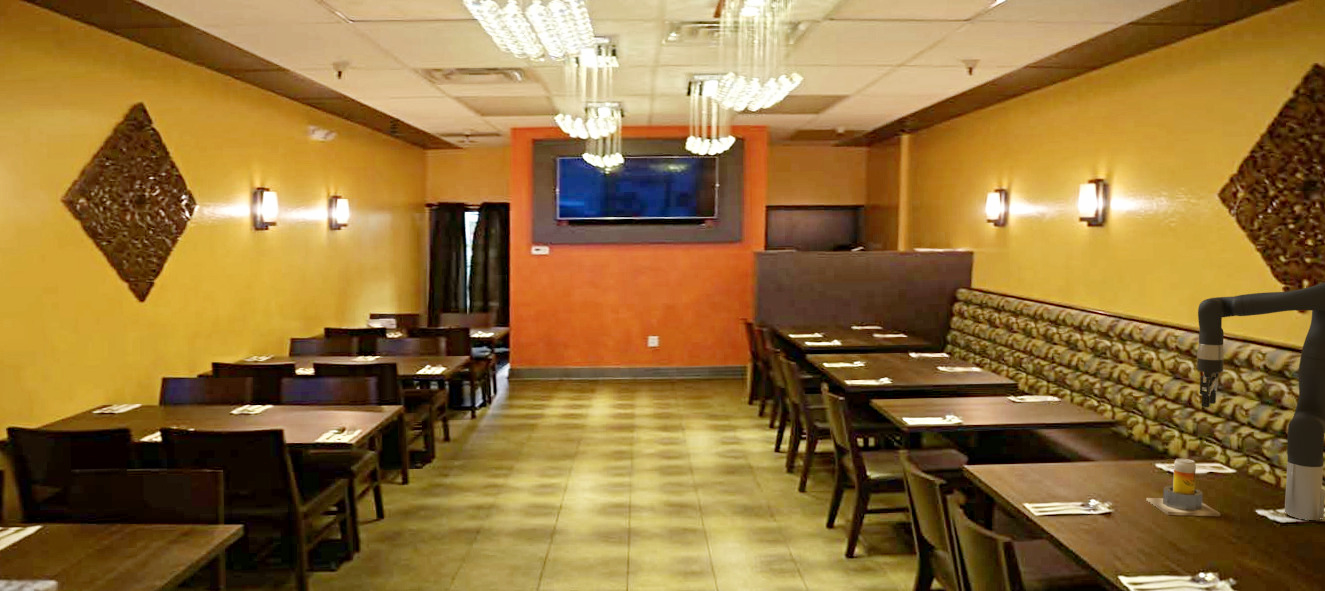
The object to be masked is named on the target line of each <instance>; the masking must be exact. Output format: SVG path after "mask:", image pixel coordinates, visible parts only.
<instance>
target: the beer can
mask: <svg viewBox="0 0 1325 591" xmlns="http://www.w3.org/2000/svg"><path fill="white" fill-rule="evenodd" d="M1196 468H1197V465H1196V462H1195V460H1193V459H1189V458H1182V457H1181V458H1176V459H1175V460H1174V464H1173V482H1172V486H1173V491H1174V492H1178V493H1184V494H1194V492H1195V489H1196V488H1195V487H1196Z"/></svg>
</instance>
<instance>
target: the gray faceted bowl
mask: <svg viewBox="0 0 1325 591" xmlns="http://www.w3.org/2000/svg"><path fill="white" fill-rule="evenodd" d="M1203 493H1204V492H1203V491H1202V490H1200V489H1197V488H1195V492H1194V494H1184V493H1178V492H1174V491H1173V485H1167V486H1164V487H1163V495H1162V498H1163V504H1165V505H1166V506H1168V507H1171V508H1175V509H1180V510H1190V511H1196V510H1201V509H1202V503H1203Z"/></svg>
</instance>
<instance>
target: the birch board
mask: <svg viewBox="0 0 1325 591" xmlns="http://www.w3.org/2000/svg"><path fill="white" fill-rule="evenodd" d="M1147 501H1148V502H1147ZM1146 502H1147V503H1149V502H1150V503H1149V504H1151V505H1152V504H1153V505H1152V506H1154V507H1155V506H1156V508H1157V509H1158V510H1160V511H1161V512H1163V513H1164V514H1165V515H1167V516H1189V517H1190V516H1193V517H1195V516H1196V517H1197V516H1199V517H1221V512H1219V511H1217V510H1216V509H1214V508H1212V507H1210V506H1209V505H1207V504H1206V503H1204V502H1202V509H1201V510H1196V511H1190V510H1180V509H1175V508H1171V507H1168V506H1166V505H1165V504H1163V497H1162V498H1161V497H1146Z"/></svg>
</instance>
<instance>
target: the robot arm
mask: <svg viewBox="0 0 1325 591" xmlns="http://www.w3.org/2000/svg"><path fill="white" fill-rule="evenodd" d="M1197 308H1198V310H1197V317H1198V319H1197V320H1198V327H1199V333H1198V346H1197V356H1196V357H1197V359H1196V362H1197V363H1196V370H1197V371H1198V372H1202V373H1203V375H1201V376H1200V377H1199V378H1200V382H1199V383H1200V384H1199V395H1200V396H1201V407H1202V408H1209V407H1210V406H1211V404H1212V405H1214V404H1216V402H1217V401H1216V399H1217V393H1218V390H1219V389H1220V388H1219V383H1220V382H1219V380H1220V379H1219V376H1220V374H1219V373H1223V372H1224V362H1225V359H1224V357H1225V356H1224V355H1225V351H1224V350H1225V349H1224V348H1225V347H1224V338H1225V337H1224V336H1225V335H1224V330H1223V326H1222V320H1223V318H1227V317H1228V318H1230V317H1248V316H1249V317H1250V316H1259V315H1260V316H1261V315H1267V314H1274V313H1282V312H1291V311H1311V321H1310V326H1309V329H1308V331H1307V334H1306V337H1305V339H1304V342H1303V346H1302V348H1301V352H1300V353H1301V354H1300V359H1299V365H1298V390H1299V391H1298V399H1297V404H1296V407H1295V411H1294V413H1293V417H1292V418H1291V420H1290V421H1289V424H1288V427H1287V442H1286V443H1287V446H1286V448H1287V449H1286V452H1287V460H1286V462H1287V463H1286V479H1285V480H1286V481H1285V482H1286V483H1285V499H1284V500H1285V501H1284V513H1285V512H1286V513H1287V514H1288V515H1290V516H1293V517H1296V518H1300V519H1299V520H1301V519H1308V520H1307V521H1309V520H1316V521H1319V520H1318V519H1320V518H1323V519H1324V515H1325V513H1324V511H1325V489H1323V472H1324V445H1325V444H1324V442H1325V281H1323V282H1320V283H1318V284H1316V285H1313V286H1308V287H1305V288H1301V289H1296V290H1294V289H1293V290H1289V291H1287V290H1286V291H1275V292H1274V291H1273V292H1271V291H1270V292H1257V293H1248V294H1239V295H1234V296H1220V297H1219V296H1218V297H1210V298H1207V299H1204V300H1202V301H1201V302H1200V303H1199V306H1198V307H1197ZM1296 518H1295V519H1296ZM1320 520H1321V519H1320Z"/></svg>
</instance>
